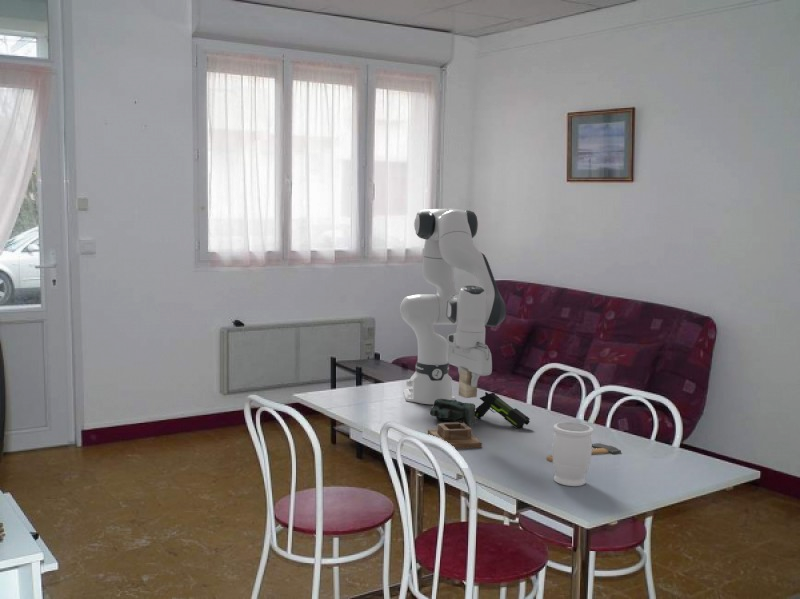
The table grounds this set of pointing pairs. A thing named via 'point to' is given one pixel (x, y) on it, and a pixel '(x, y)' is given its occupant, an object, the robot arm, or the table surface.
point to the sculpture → (454, 411)
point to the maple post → (466, 384)
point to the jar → (571, 452)
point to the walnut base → (459, 442)
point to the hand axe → (597, 450)
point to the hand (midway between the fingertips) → (468, 384)
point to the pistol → (501, 410)
